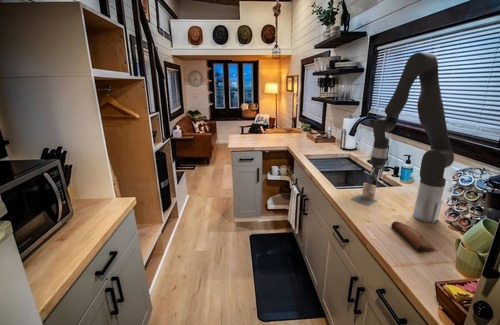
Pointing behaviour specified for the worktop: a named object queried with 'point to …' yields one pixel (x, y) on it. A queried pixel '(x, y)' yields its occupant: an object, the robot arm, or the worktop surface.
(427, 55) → the robot arm
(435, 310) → the worktop surface
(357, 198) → the mat
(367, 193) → the tile
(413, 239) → the sunglasses case
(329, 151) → the worktop surface
